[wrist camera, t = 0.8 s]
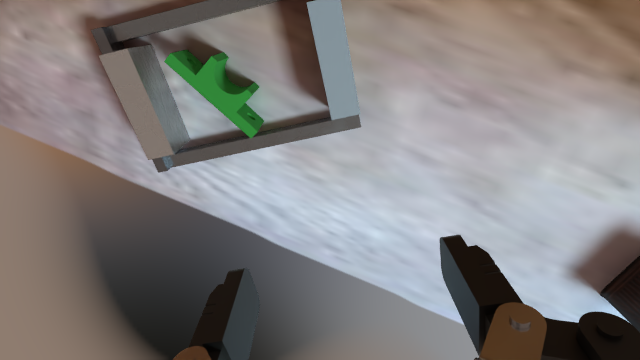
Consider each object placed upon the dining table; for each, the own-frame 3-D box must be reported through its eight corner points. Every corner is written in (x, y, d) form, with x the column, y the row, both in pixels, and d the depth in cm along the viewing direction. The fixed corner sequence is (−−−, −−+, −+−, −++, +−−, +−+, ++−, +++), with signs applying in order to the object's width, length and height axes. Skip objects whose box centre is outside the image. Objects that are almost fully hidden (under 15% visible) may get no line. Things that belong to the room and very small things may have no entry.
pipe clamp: (279, 104, 39) (274, 115, 35) (258, 126, 40) (251, 139, 36) (201, 30, 36) (185, 32, 32) (181, 56, 37) (163, 61, 33)
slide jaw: (308, 4, 34) (306, 2, 30) (337, -3, 34) (339, -6, 30) (330, 108, 39) (331, 120, 35) (356, 102, 39) (360, 114, 34)
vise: (104, 29, 36) (73, 30, 31) (332, -31, 33) (333, -39, 29) (166, 164, 42) (148, 182, 38) (359, 123, 40) (364, 136, 35)
